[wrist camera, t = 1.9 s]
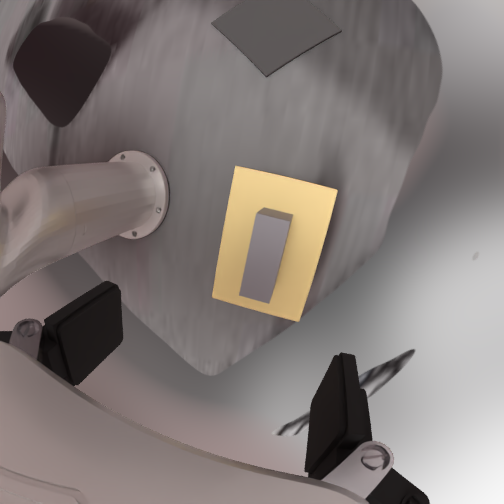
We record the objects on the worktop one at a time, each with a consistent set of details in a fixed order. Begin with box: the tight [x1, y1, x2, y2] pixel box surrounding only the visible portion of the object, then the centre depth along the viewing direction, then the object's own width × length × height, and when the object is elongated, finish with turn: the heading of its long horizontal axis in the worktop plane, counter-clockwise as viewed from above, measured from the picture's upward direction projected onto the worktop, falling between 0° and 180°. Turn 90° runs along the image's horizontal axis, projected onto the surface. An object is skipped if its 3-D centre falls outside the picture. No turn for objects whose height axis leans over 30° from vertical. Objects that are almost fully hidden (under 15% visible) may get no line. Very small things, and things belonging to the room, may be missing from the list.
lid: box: [212, 166, 338, 322], centre depth 24 cm, size 13×9×4 cm
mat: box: [211, 0, 342, 77], centre depth 25 cm, size 12×12×1 cm
